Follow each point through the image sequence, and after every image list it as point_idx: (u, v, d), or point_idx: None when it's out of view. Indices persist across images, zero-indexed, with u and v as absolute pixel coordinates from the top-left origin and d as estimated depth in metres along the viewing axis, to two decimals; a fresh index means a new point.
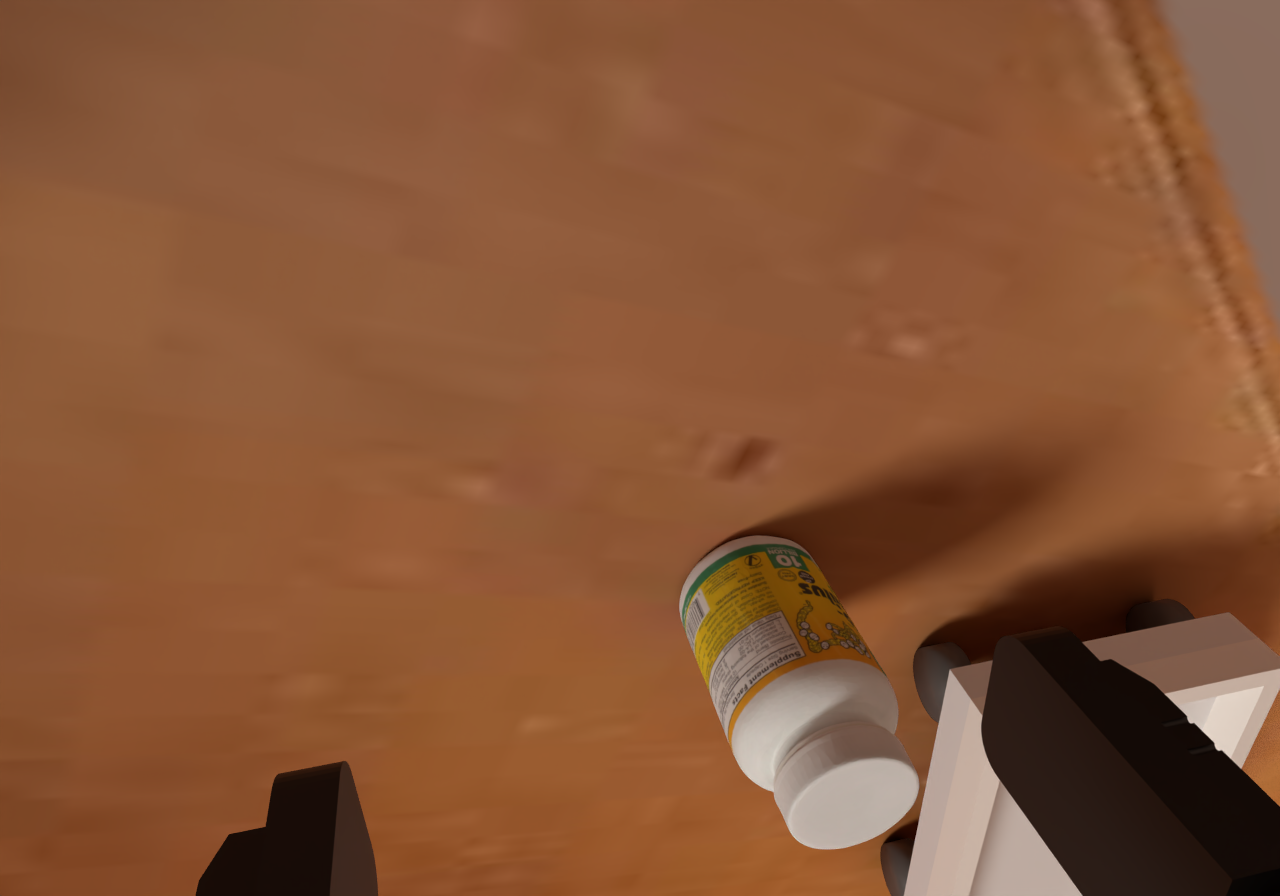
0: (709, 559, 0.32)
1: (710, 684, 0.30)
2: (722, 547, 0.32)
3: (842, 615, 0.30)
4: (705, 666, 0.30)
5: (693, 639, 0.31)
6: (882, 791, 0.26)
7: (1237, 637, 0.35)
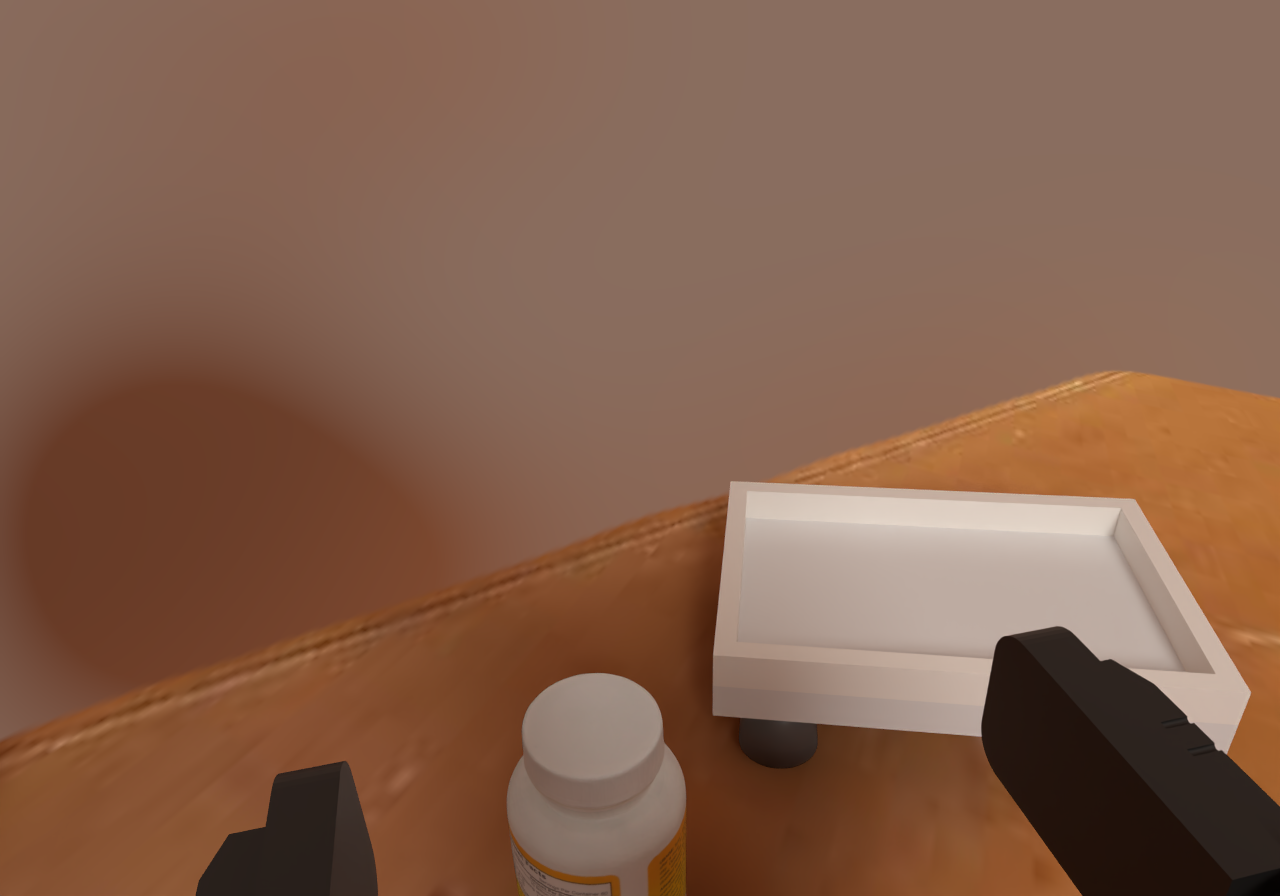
0: None
1: None
2: None
3: None
4: None
5: None
6: (585, 699, 0.27)
7: None
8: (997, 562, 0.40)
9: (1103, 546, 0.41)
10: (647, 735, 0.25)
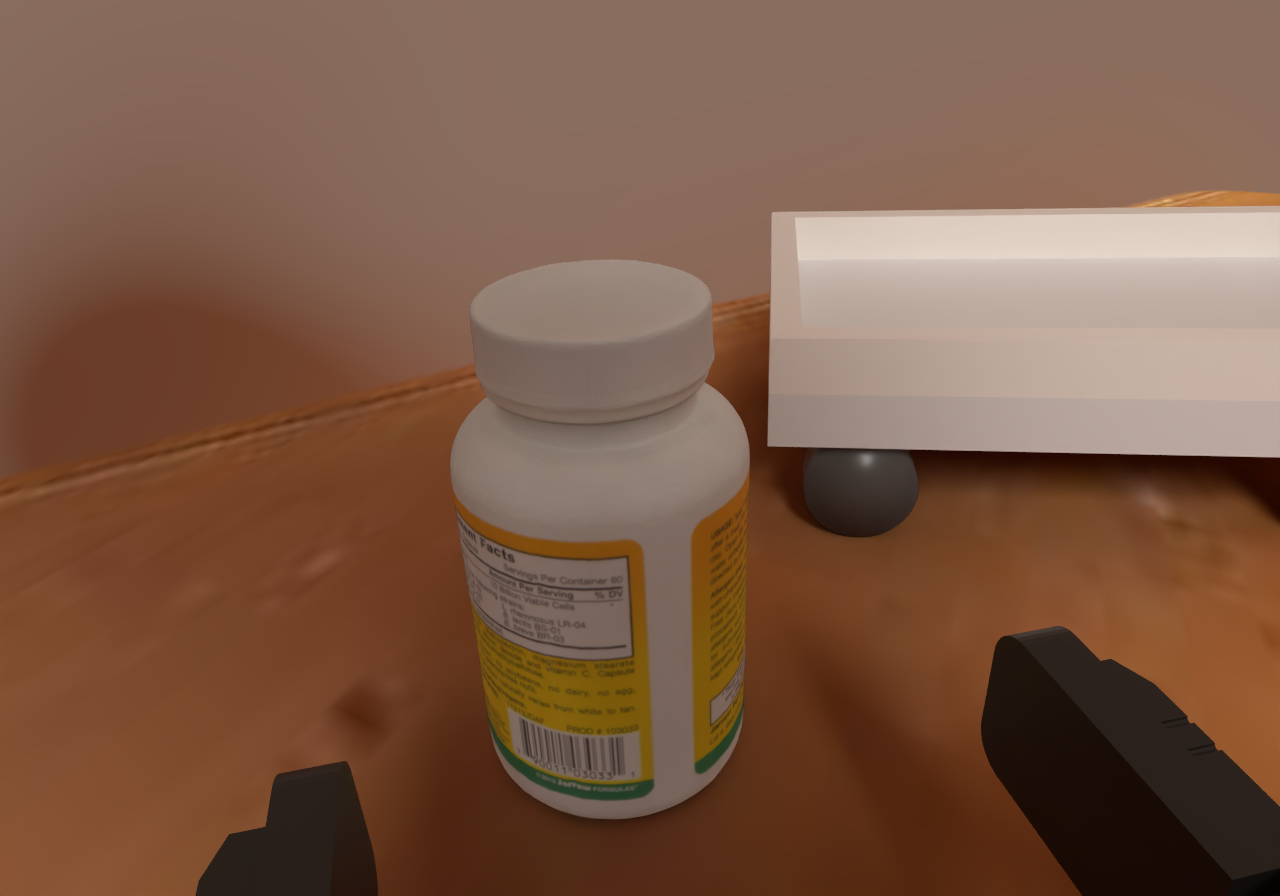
0: (498, 755, 0.18)
1: (572, 651, 0.15)
2: (494, 742, 0.19)
3: None
4: (564, 678, 0.16)
5: (575, 739, 0.16)
6: (578, 280, 0.16)
7: None
8: (1144, 281, 0.29)
9: None
10: (687, 302, 0.15)
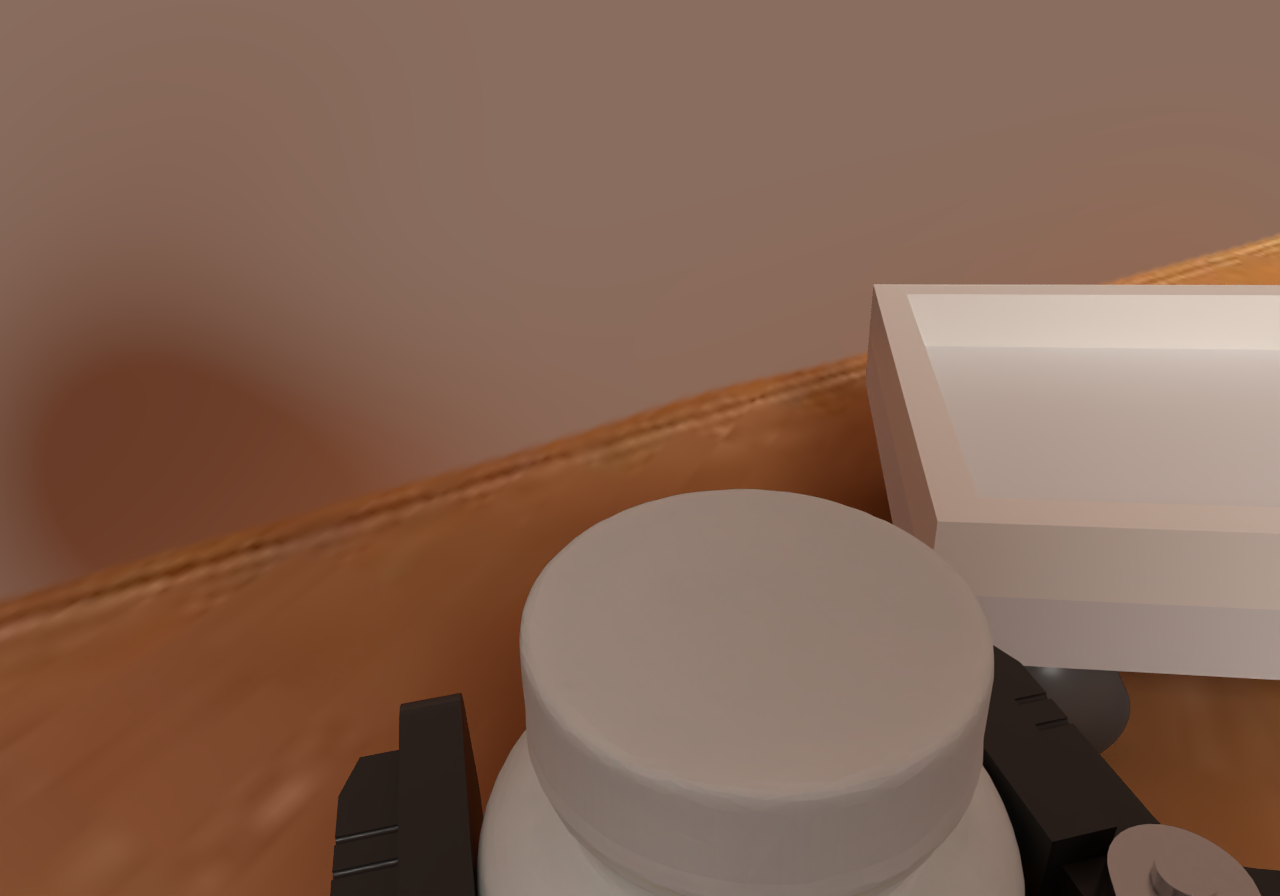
0: None
1: None
2: None
3: None
4: None
5: None
6: (714, 551, 0.09)
7: (870, 352, 0.26)
8: None
9: None
10: (952, 644, 0.07)
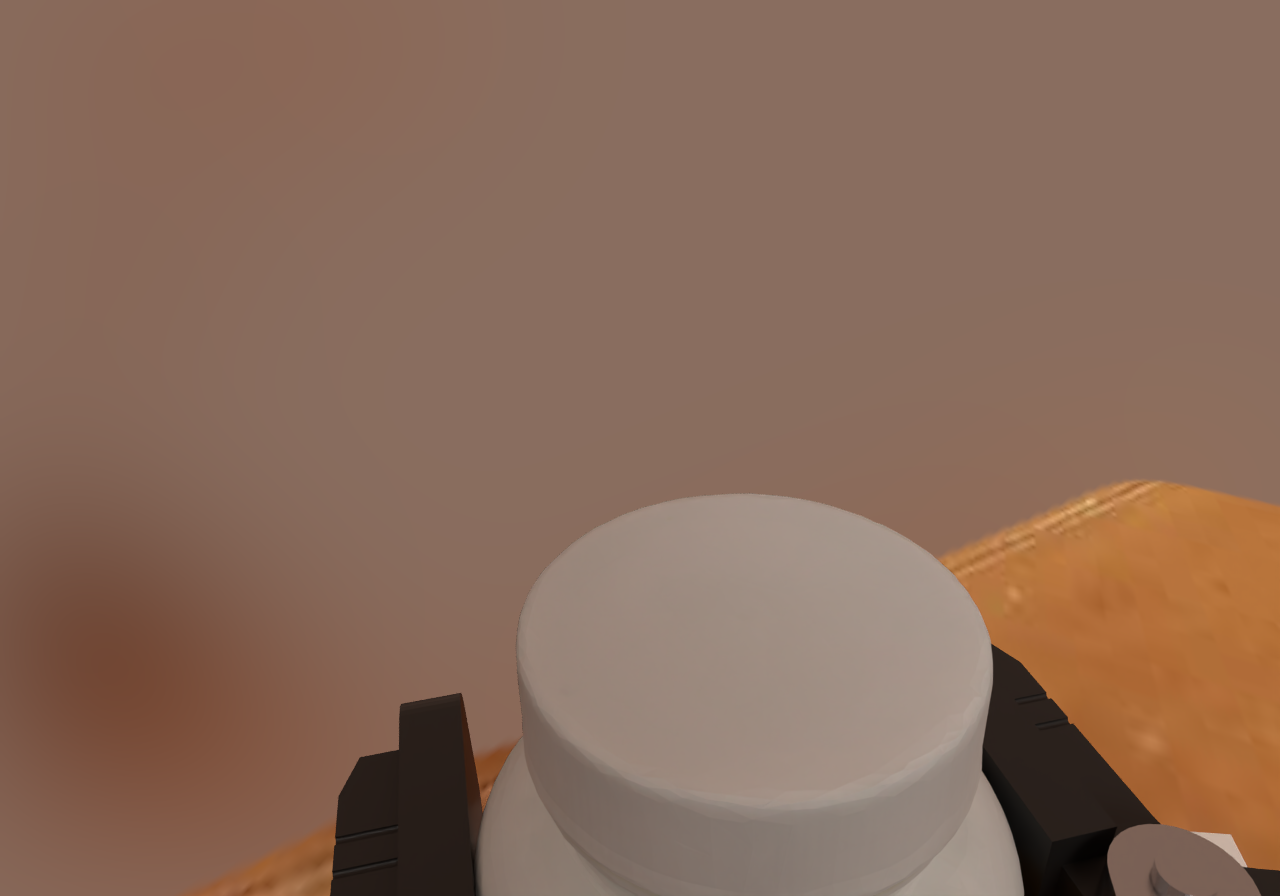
0: None
1: None
2: None
3: None
4: None
5: None
6: (711, 555, 0.09)
7: None
8: None
9: None
10: (951, 650, 0.07)
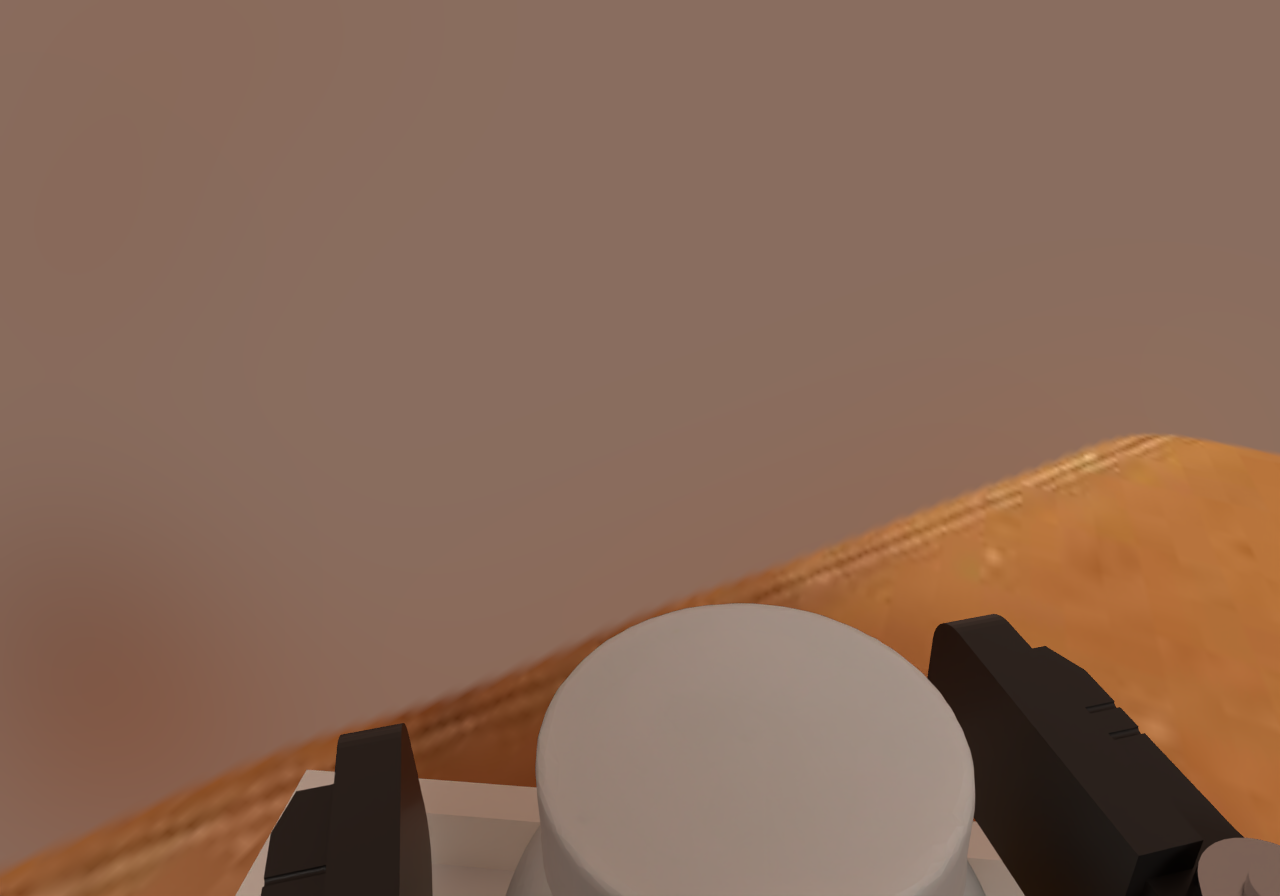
0: None
1: None
2: None
3: None
4: None
5: None
6: (716, 672, 0.09)
7: None
8: None
9: None
10: (936, 776, 0.08)
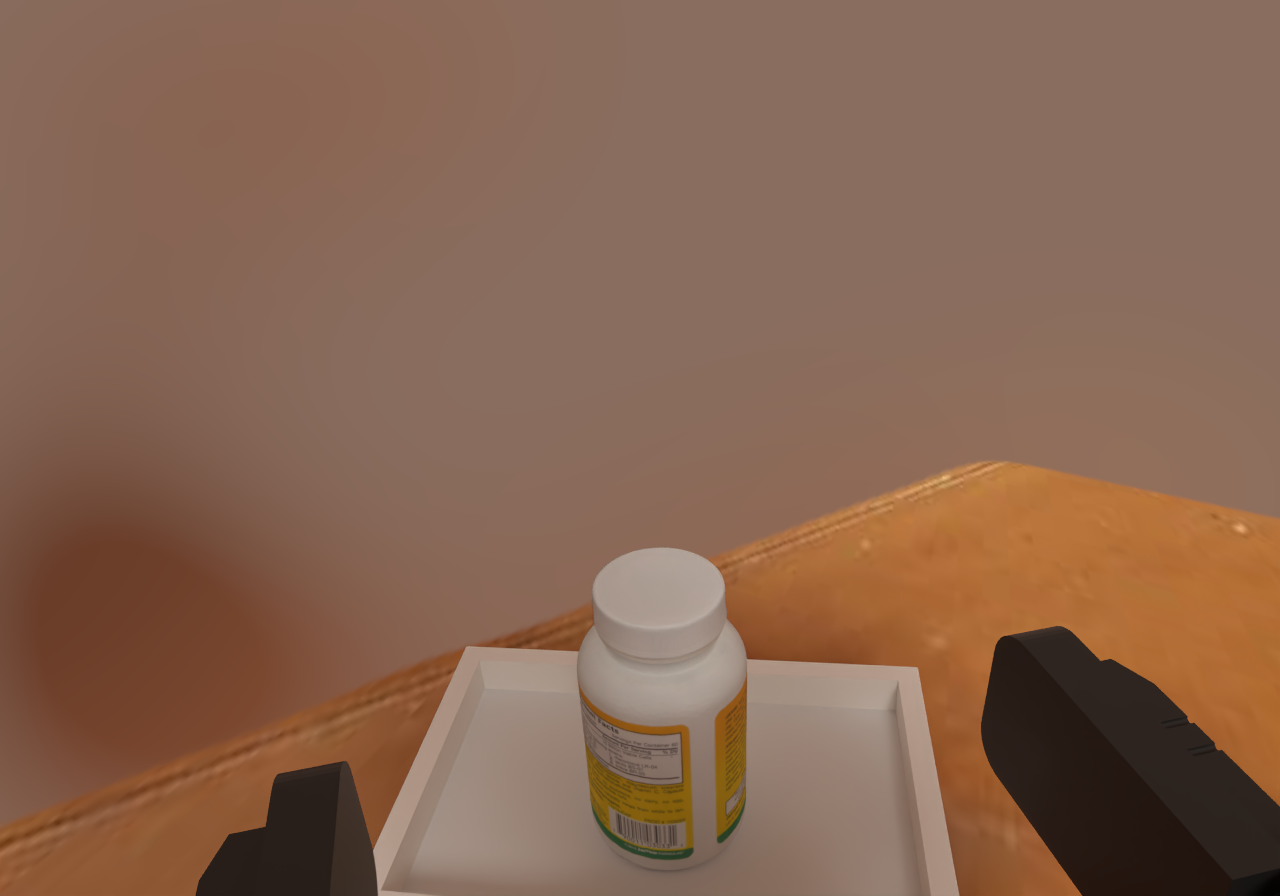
0: (599, 830, 0.31)
1: (649, 780, 0.28)
2: None
3: None
4: (644, 794, 0.28)
5: (649, 826, 0.28)
6: (649, 568, 0.28)
7: None
8: (750, 750, 0.34)
9: (880, 725, 0.35)
10: (711, 593, 0.27)
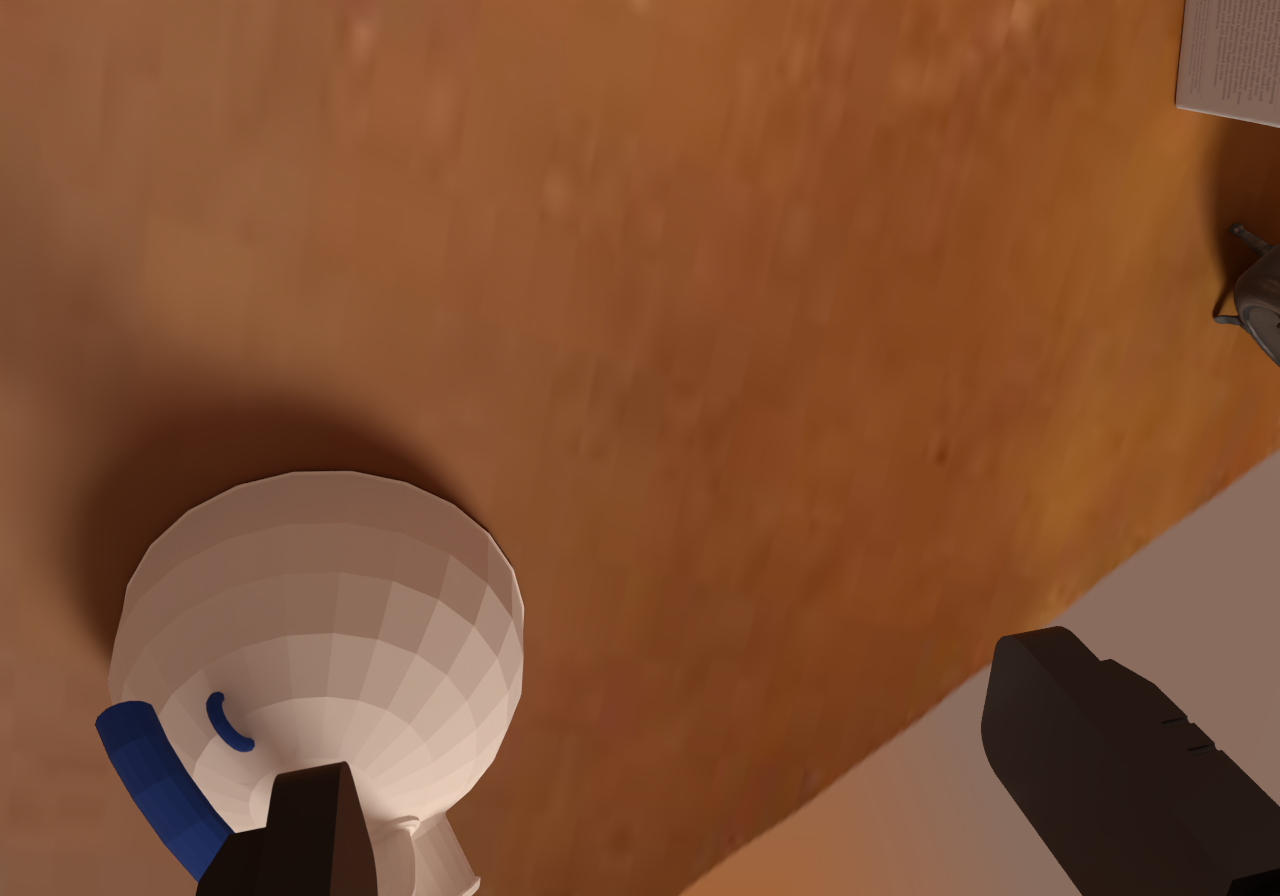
0: None
1: None
2: None
3: None
4: None
5: None
6: None
7: None
8: None
9: None
10: None
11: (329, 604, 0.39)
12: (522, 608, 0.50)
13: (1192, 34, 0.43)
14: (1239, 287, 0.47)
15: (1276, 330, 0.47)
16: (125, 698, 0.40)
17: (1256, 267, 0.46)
